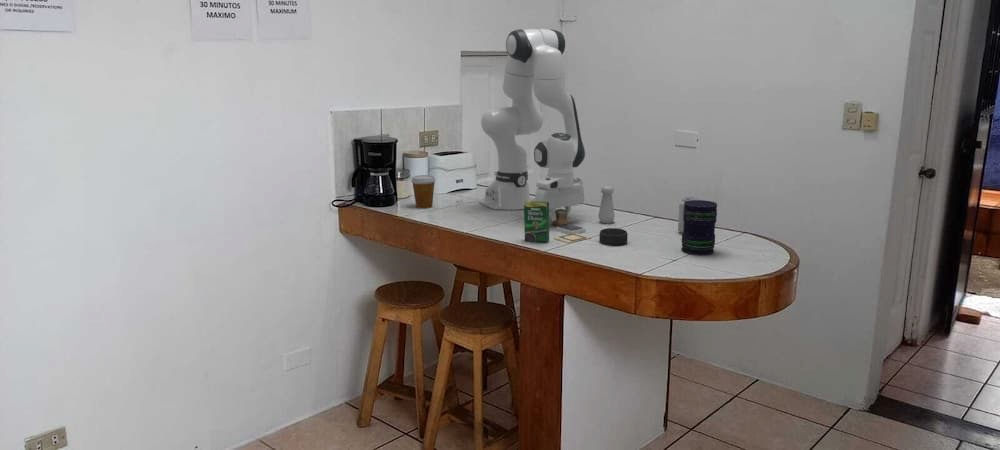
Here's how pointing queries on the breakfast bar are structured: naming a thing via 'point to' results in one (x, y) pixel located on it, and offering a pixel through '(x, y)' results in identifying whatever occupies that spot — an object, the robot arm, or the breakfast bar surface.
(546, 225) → the coffee box
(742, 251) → the breakfast bar surface
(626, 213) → the breakfast bar surface
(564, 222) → the stamp
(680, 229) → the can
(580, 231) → the ink pad
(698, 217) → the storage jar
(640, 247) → the breakfast bar surface
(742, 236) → the breakfast bar surface
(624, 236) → the smart speaker
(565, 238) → the card
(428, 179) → the disposable coffee cup
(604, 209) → the salt shaker
